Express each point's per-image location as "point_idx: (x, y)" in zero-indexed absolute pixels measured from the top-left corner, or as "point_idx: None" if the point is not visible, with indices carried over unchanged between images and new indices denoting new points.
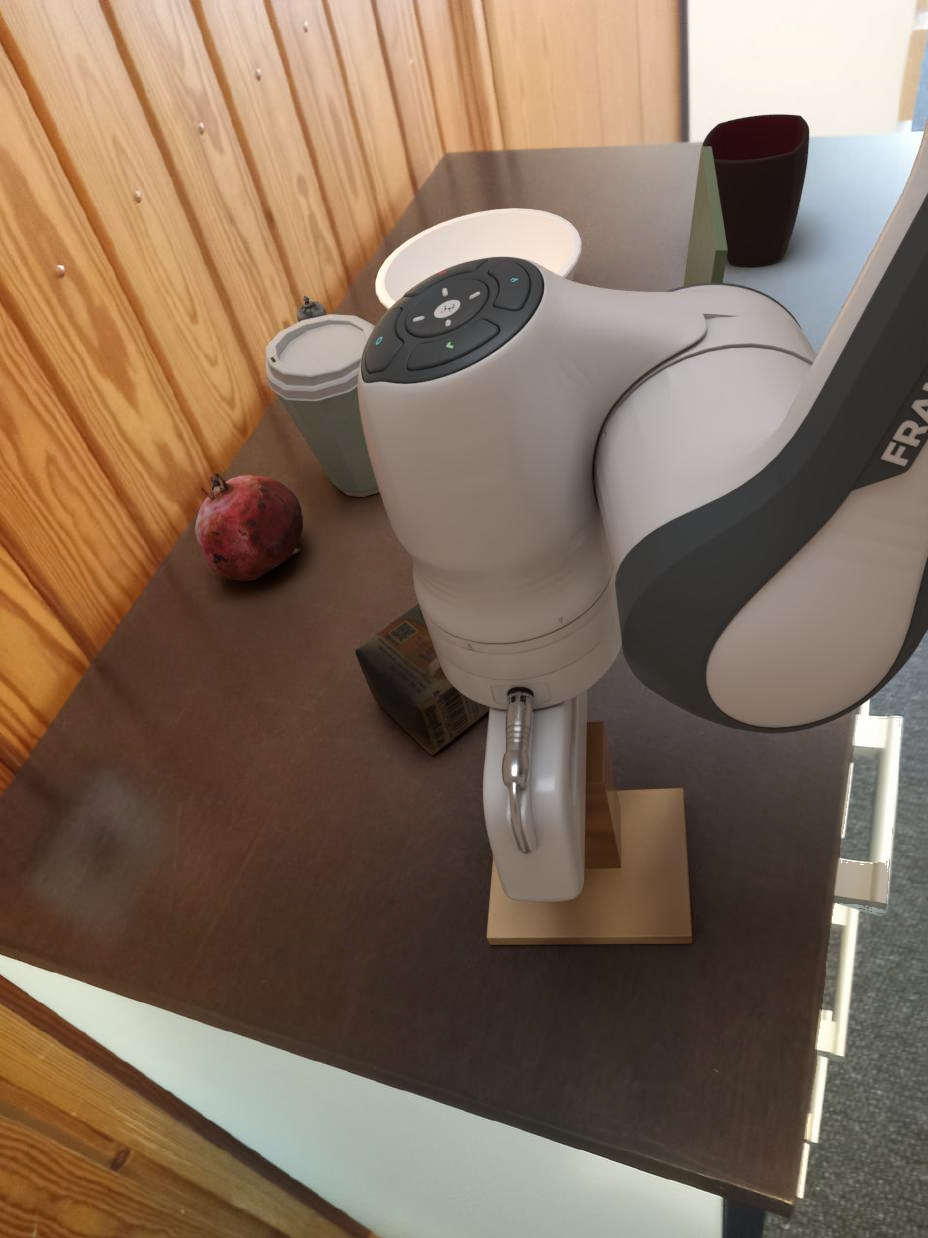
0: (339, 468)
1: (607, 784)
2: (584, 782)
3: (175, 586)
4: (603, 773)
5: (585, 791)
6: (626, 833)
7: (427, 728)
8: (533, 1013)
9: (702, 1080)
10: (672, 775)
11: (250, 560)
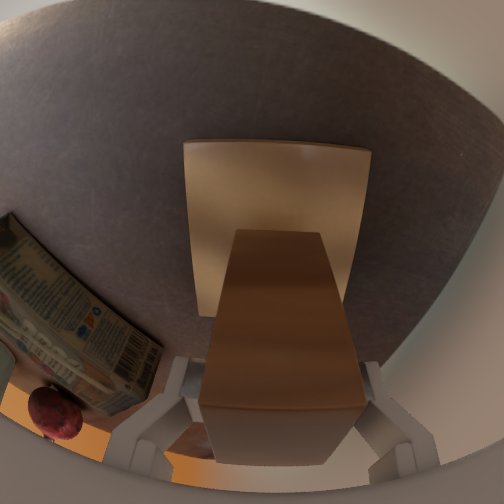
0: (6, 376)
1: (324, 356)
2: (448, 500)
3: (93, 421)
4: (344, 405)
5: (454, 484)
6: (243, 206)
7: (152, 373)
8: (394, 281)
9: (465, 166)
10: (161, 152)
11: (71, 419)
